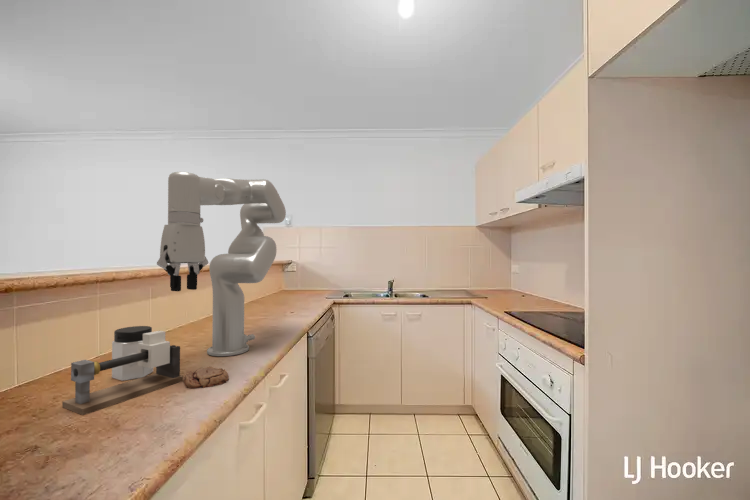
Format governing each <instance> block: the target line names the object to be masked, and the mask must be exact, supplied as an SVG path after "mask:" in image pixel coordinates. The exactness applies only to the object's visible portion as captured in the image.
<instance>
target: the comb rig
mask: <svg viewBox="0 0 750 500" xmlns="http://www.w3.org/2000/svg"><path fill="white" fill-rule="evenodd" d="M145 359H148V351H146V352H142V353H137V354H133V355H129V356H125V357H121V358H117V359H113V360H112V359H110V360H104V361H100V362H99V361H97V360H96V361H92V360H87V359H82V360H78V361H73V362H70V363H71V364H70V367H71V369H70V373H71V374H70V381H71V382H75V383H74V384H75V385H74V386H75V391H74V394H75V396H74V397H72V398H69V399H65V400H62V405H61V407H62V408H63V409H66V410H68V411H71V412H74V413H76V414H78V415H82V416H85V415H87V414H90V413H94V412H96V411H99V410H102V409H105V408H107V407H111V406H113V405H117V404H119V403H122V402H125V401H128V400H131V399H134V398H137V397H140V396H143V395H146V394H149V393H152V392H155V391H157V390H160V389H163V388H165V387H166V388H167V387H168V386H171V385H174V384H177V383H180V382H184V380H183V379H184V376H183V375H181V346H179V345H174V344H173V345H170V363H168V364H165V365H161V366H158V367H155V373H151V374H148V375H147V376H145V377H142V378H137V379H131V380H127V381H125V382H122V383H119V384H116V385H112V386H109V387H106V388H103V389H100V390H99V389H98V390H96V391H92V392H91V391H90V390H91V388H90V387H91V385H90V381H93V380H95V376H97V375H99V374H100V372H102V371H106V370H110V369H111V370H112V368H115V367H118V366H122V365H126V364H130V363H134V362H138V361H141V360H145Z"/></svg>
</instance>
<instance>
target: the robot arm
mask: <svg viewBox="0 0 750 500" xmlns="http://www.w3.org/2000/svg"><path fill="white" fill-rule="evenodd" d="M167 188H168V189H167V224H164V226H163V230H162V233H161V239H160V241H161V242H160V246H159V247H160V248H159V258H158V260H157V261H156V265H157V266H158V267H160V268H162V269H163V270H164V271H165V272H166V274H167V276H169V287H170V291H171V292H181V291H182V276H181V275H180V269H181V265H182V264H187V268H188V274H187V275H186V289H187V290H192V291H196V290H197V289H198V275H199V274H200V273H201V270H202V269H203V268H204V267H205V266H207V265H209V266H208V267H209V268H208V269H209V270H208V271H209V276H210V281H211V288H212V334H211V335H212V339H211V340H212V341H211V342H212V346H210V347H208V348H207V350H206V354H207V355H209V356H213V357H230V356H237V355H241V354H244V353H246V352H248V351H249V350H250V345H249V344H247V343H248V342H249V341H250V342H251V341H252V340H255V338H256V335H255V334H254V333H251V334H248V335H247V334H245V295H244V292H243V289H242V288H241V287H240V285H239V284H257V283H260V282H262V281H263V280H264V278H265V277H266V276H267V274H268V272H269V271H270V268H271V267H272V265H273V263H274V261H275V259H276V258H277V257H276V256H277V250H278V249H277V244H276V241H275V240H274V239H273V238H272V237H270V236H267V235H265V234H264V231H263V230H262V229H261V227H260V226H259V225H260V224H280V223H282V222H283V221H284V220H285V219H286V215H287V213H286V212H287V211H286V207H285V204H284V202H283V200H282V198H281V196H280V193H279V192H278V190H277V189H276V187H275V186H274V184H273V183H272V182H271V181H270V180H268V179H264V178H263V179H241V178H240V179H235V178H210V177H204V176H198V175H197V174H195V173H194V172H193V173H191V172H186V171H175V172H172V173H170V174H169V175H168V180H167ZM233 205H242V206H241V207H240V208H241V209H240V211H239V217H240V226H241V228H240V229H241V230H240V232H239V233H238V234H237V235H236V236H235V238H234V239H233V241H232V242H231V243H230V245H229V247H228V251H227V253H221V254H217V255H215V256H214V257H212V259H211V260H210V263H209V261H208V259H207V256H206V243H205V242H206V241H205V235H204V229H203V226H202V225H201V223H204V218H203V217H201V206H233ZM258 224H259V225H258Z"/></svg>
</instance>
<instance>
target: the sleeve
mask: <svg viewBox="0 0 750 500" xmlns="http://www.w3.org/2000/svg"><path fill="white" fill-rule="evenodd" d="M170 346H171V342H170V341H168V340H166V330H165V331H164V330H156V331H155V330H154V331H152V332H150V333H144V334H143V343H138V353H142V352H146V351H148V359H145V360H141V361H138V365H139V366H143V367H148V368H153V369H154V368H156V367H158V366H161V365H165V364H168V363H170Z"/></svg>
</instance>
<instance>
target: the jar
mask: <svg viewBox="0 0 750 500" xmlns="http://www.w3.org/2000/svg"><path fill="white" fill-rule="evenodd" d="M152 329H153V327H152V326H148V325H135V326H134V325H133V326H127V327H122V328H118V329H116V330H114V336H113V337H114V338H113V339H114V340H112V342H111V360H113V359H117V358H121V357H125V356H129V355H133V354H137V353H138V343H143V334H144V333H150V332H153V330H152ZM153 372H154V368H148V367H143V366H139V365H138V362H134V363H130V364H126V365H122V366H118V367H115V368H111V378H112V379H114V380H119V381H122V382H124V381H125V382H126V381H132V380H135V379H138V378H142V377H145V376H148V375H151V374H153Z"/></svg>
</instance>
